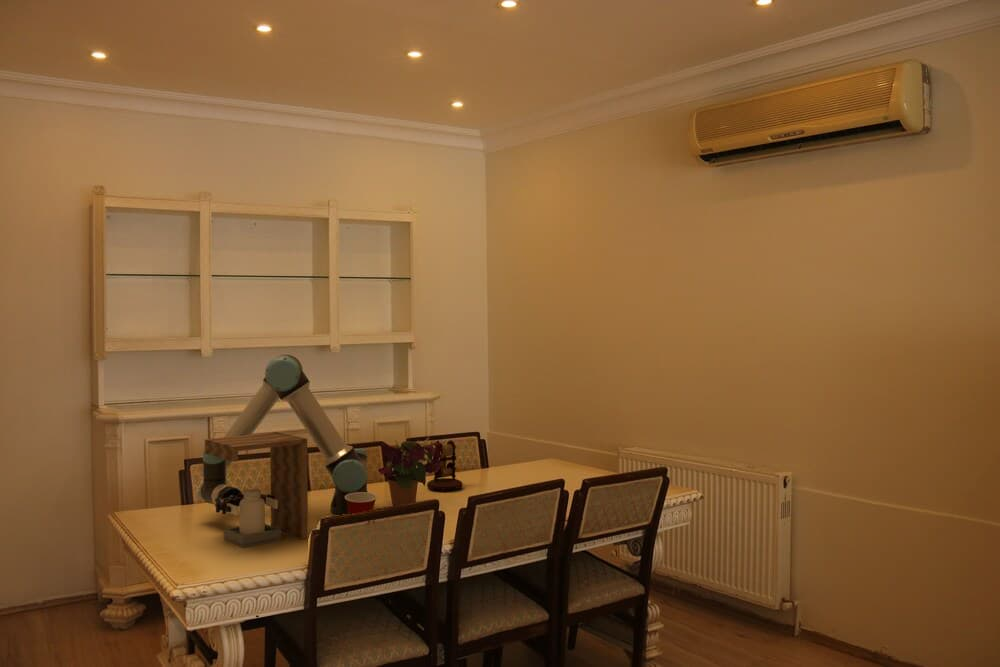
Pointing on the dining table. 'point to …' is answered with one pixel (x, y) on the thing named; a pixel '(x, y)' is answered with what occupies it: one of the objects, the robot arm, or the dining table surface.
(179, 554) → the dining table surface
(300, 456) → the wooden l-shaped stand
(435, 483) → the dark mug tree
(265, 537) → the tray
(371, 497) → the plastic cup
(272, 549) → the dining table surface
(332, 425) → the robot arm
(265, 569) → the dining table surface
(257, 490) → the pill bottle
